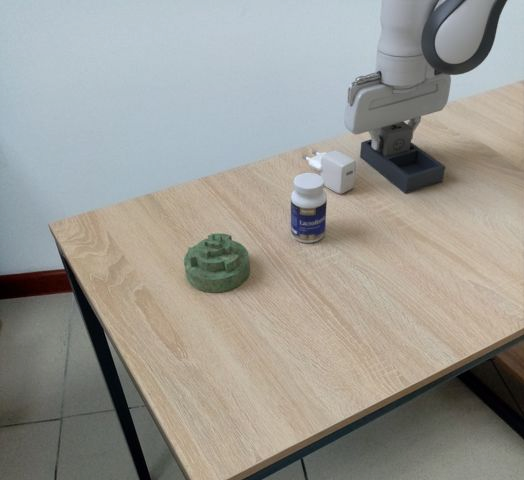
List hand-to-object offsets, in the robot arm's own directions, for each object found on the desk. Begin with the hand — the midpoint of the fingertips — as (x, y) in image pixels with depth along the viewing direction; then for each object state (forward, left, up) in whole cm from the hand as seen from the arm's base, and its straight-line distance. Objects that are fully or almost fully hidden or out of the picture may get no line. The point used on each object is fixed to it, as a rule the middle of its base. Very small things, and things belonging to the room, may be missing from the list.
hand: (391, 143), depth 101 cm
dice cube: (0, 0, -2) cm, 2 cm away
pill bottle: (+25, +13, -4) cm, 29 cm away
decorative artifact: (+42, +15, -4) cm, 45 cm away
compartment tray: (0, +3, -4) cm, 5 cm away
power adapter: (+14, 0, -4) cm, 15 cm away
